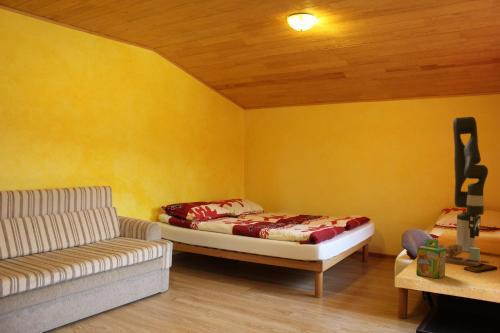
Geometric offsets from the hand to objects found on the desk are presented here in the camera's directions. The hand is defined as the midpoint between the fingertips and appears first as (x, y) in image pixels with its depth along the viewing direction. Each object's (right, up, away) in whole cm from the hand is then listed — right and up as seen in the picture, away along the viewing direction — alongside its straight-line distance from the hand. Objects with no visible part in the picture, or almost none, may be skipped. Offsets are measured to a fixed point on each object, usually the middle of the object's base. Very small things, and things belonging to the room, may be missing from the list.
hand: (474, 237), depth 211 cm
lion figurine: (-15, -11, -2) cm, 19 cm away
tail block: (0, -12, 0) cm, 12 cm away
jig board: (-13, -11, -5) cm, 18 cm away
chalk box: (-37, -10, -36) cm, 52 cm away
